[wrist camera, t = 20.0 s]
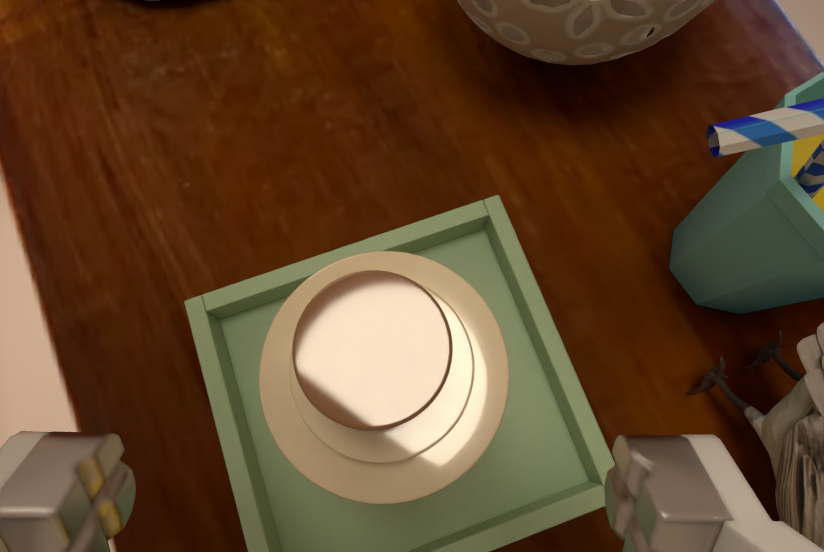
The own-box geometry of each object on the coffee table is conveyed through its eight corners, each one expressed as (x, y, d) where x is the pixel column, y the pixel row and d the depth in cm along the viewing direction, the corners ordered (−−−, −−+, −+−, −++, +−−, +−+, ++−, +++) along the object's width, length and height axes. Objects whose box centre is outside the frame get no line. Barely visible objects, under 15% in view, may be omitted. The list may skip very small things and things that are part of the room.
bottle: (351, 495, 24) (250, 592, 9) (307, 352, 26) (164, 248, 11) (492, 442, 24) (602, 456, 10) (440, 305, 26) (470, 146, 12)
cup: (582, 367, 26) (790, 286, 12) (544, 211, 28) (681, -23, 14) (873, 318, 27) (1421, 181, 12) (815, 168, 29) (1224, -101, 14)
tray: (285, 617, 23) (269, 639, 21) (205, 312, 27) (183, 300, 24) (608, 490, 25) (629, 497, 22) (491, 215, 28) (499, 193, 26)
